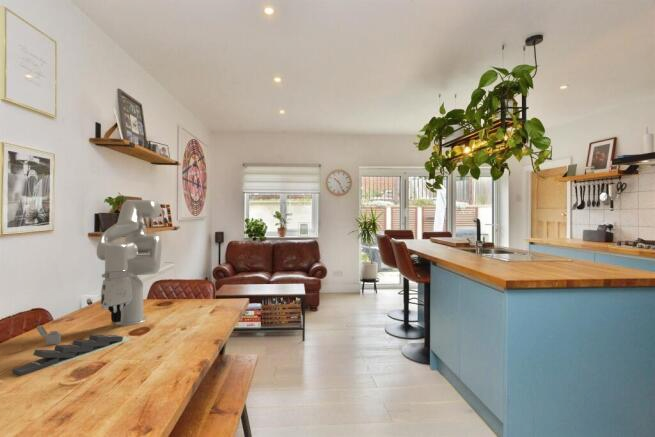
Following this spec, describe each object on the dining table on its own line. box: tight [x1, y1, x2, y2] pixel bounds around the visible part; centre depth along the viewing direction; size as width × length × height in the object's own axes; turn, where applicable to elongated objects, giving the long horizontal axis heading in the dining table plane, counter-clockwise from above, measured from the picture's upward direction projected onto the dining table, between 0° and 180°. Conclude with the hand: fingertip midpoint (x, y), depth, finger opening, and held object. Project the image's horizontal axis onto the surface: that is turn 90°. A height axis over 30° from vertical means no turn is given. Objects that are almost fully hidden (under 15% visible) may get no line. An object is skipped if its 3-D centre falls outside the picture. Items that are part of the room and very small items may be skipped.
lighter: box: [36, 324, 62, 346], centre depth 127 cm, size 7×2×8 cm, turn 114°
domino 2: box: [32, 349, 75, 359], centre depth 111 cm, size 2×5×10 cm
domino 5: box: [88, 334, 124, 341], centre depth 127 cm, size 2×5×10 cm
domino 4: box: [71, 339, 110, 347], centre depth 122 cm, size 2×5×10 cm
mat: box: [50, 336, 132, 367], centre depth 122 cm, size 10×27×1 cm, turn 156°
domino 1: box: [12, 357, 59, 377], centre depth 107 cm, size 2×5×10 cm
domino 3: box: [53, 344, 94, 352], centre depth 117 cm, size 2×5×10 cm
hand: (116, 321), depth 130 cm, fingers closed
